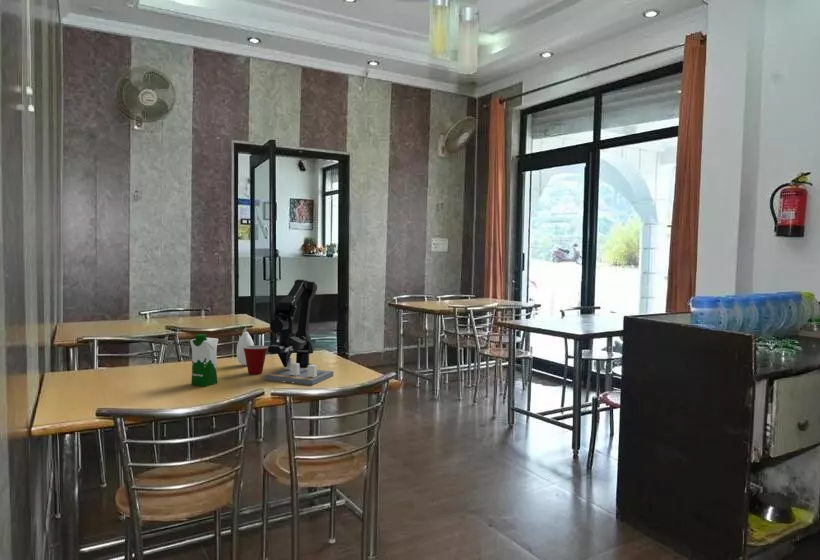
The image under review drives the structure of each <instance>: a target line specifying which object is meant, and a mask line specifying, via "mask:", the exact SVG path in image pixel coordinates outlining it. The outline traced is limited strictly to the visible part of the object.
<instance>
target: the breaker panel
mask: <svg viewBox="0 0 820 560" xmlns="http://www.w3.org/2000/svg"><path fill="white" fill-rule="evenodd" d="M290 373H291V370H286V369H284V368H281V369H279V370H276V371H273V372H270V373H267V374H265V377H264V378H265V381H269V380H274V381H273V382H278V381H285V382H284V383H286V382H294V383H293V384H295V383H299V384H298V385H304V384H305V386H306V385H307V386H315V385H317V384H319V383H321V382H323V381H325V380H327V379H330V378H332V377H334V371H333V370H324V369H323V370H322V369H317V376H316V377H314V378H313V377H307V375H308V368H307V367H300V372H299V373H300V374H299V375H297V376H295V375H290Z"/></svg>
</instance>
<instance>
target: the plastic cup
mask: <svg viewBox="0 0 820 560" xmlns="http://www.w3.org/2000/svg"><path fill="white" fill-rule="evenodd" d="M268 347H269V345H257V344H256V345H252V346H243V349H244V352H245V357H246V364H247V366H246V368H247V373H248V375H261V374H263V370H264V366H265V360H266V355H267V352H268Z"/></svg>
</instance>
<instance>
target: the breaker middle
mask: <svg viewBox="0 0 820 560" xmlns="http://www.w3.org/2000/svg"><path fill="white" fill-rule="evenodd" d="M300 368H301V367H300V363H296V362H293V363H291V373H290V375H295V376H297V375H299V374H300V373H299V372H300Z"/></svg>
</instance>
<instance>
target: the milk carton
mask: <svg viewBox="0 0 820 560" xmlns="http://www.w3.org/2000/svg"><path fill="white" fill-rule="evenodd" d="M189 342H190V346H191V386H196V385H197V386H196V387H205V388H206V387H209V386H212V385H216V384H218V373H217V371H218V370H217V348H218V344H219V338H214V337H207V334H206V333H197V334H195V338H193V339H190V340H189Z"/></svg>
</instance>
